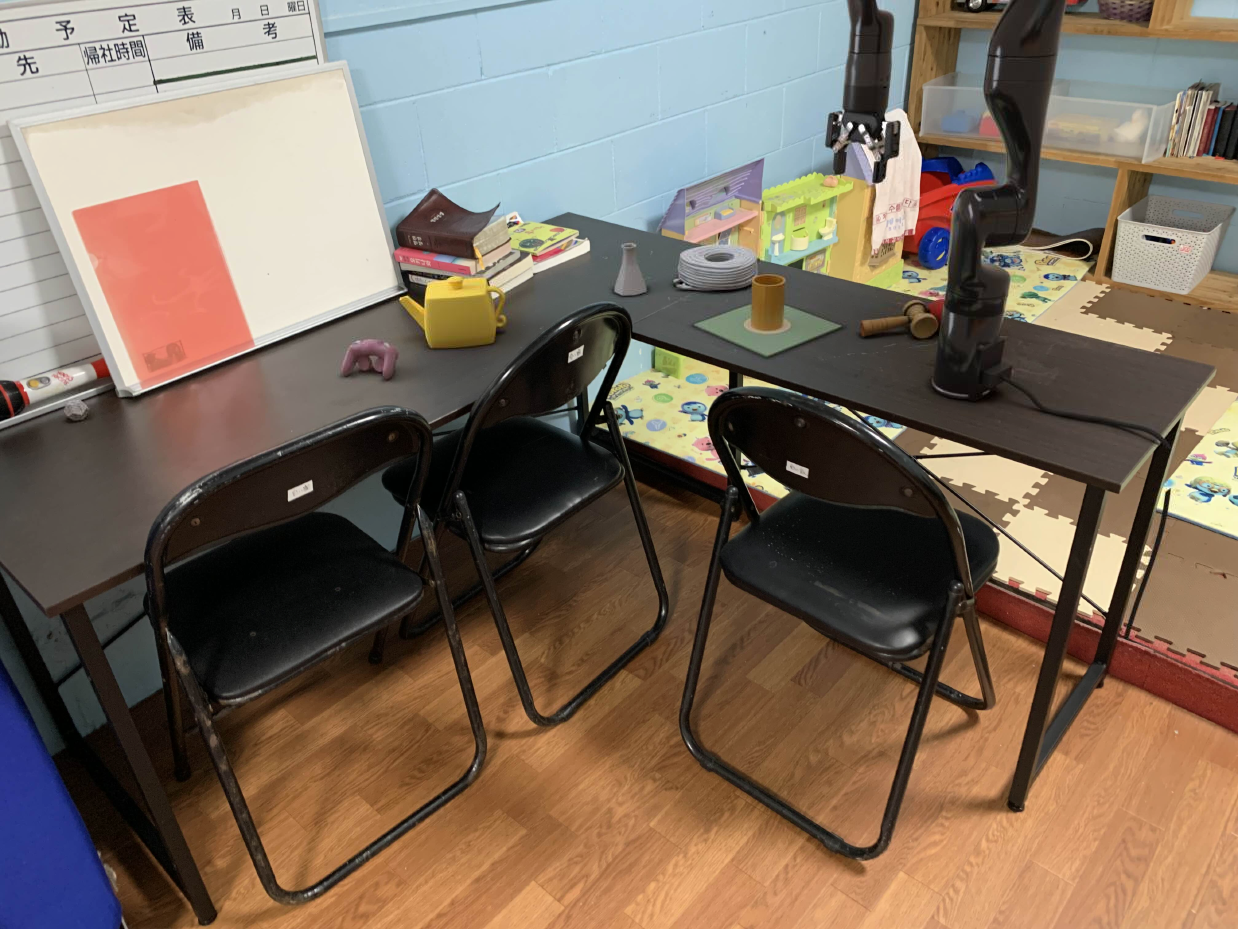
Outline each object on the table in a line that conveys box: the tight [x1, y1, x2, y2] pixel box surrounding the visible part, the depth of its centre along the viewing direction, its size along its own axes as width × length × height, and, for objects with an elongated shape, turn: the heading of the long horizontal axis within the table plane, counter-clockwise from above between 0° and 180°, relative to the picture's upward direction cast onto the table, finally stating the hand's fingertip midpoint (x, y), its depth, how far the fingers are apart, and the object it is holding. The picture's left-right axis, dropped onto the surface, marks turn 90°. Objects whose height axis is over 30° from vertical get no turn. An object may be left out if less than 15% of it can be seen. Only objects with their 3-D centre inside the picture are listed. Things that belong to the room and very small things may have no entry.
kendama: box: [859, 298, 945, 339], centre depth 173 cm, size 8×6×18 cm
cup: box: [750, 273, 786, 331], centre depth 177 cm, size 6×6×9 cm
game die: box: [63, 398, 90, 422], centre depth 158 cm, size 4×4×3 cm
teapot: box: [398, 275, 507, 349], centre depth 179 cm, size 20×12×12 cm, turn 96°
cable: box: [672, 244, 759, 292], centre depth 201 cm, size 18×18×6 cm
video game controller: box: [341, 338, 399, 380], centre depth 168 cm, size 10×5×7 cm, turn 74°
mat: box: [693, 303, 843, 358], centre depth 179 cm, size 20×20×1 cm
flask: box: [614, 242, 648, 296], centre depth 197 cm, size 7×7×10 cm
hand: (858, 178), depth 163 cm, fingers open, 8 cm apart
